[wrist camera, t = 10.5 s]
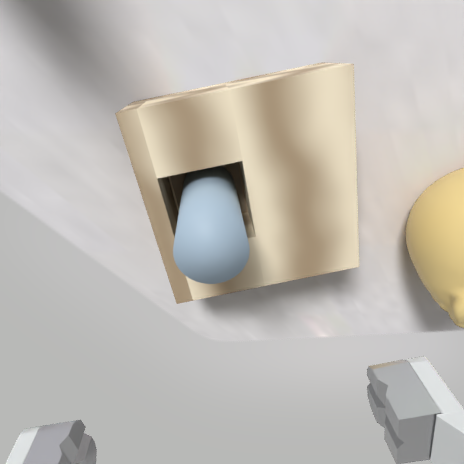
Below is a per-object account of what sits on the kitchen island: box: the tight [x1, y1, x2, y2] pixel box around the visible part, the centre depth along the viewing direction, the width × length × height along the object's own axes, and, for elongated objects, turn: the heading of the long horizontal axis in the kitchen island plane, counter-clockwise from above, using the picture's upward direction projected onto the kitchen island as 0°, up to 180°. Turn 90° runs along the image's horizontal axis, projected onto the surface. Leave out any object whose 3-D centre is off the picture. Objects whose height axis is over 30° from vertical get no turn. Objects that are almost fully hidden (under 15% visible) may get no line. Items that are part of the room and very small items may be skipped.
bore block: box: [115, 63, 359, 304], centre depth 26 cm, size 14×14×6 cm
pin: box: [173, 165, 250, 284], centre depth 23 cm, size 4×4×10 cm
